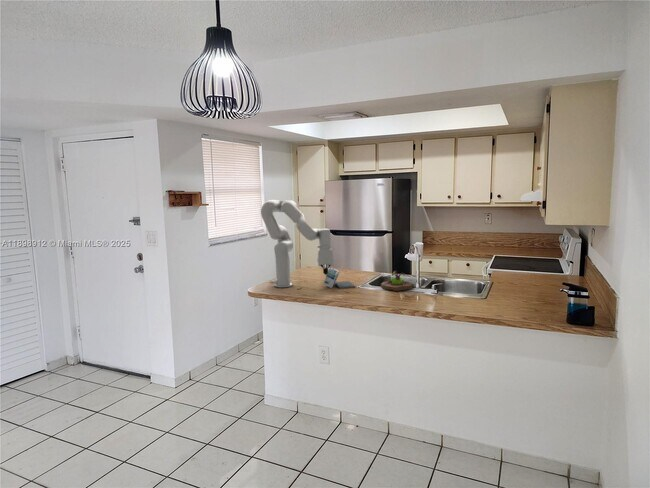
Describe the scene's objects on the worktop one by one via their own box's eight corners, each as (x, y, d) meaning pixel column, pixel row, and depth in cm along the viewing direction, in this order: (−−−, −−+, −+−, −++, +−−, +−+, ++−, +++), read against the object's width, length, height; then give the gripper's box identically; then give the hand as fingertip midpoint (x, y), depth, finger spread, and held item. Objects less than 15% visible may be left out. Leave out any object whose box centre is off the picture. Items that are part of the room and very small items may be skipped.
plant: (375, 286, 271) (375, 270, 270) (396, 282, 282) (396, 267, 281) (397, 292, 255) (397, 274, 253) (418, 287, 266) (418, 270, 265)
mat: (338, 288, 266) (338, 286, 265) (333, 283, 281) (333, 281, 281) (355, 287, 268) (355, 285, 268) (349, 282, 283) (349, 280, 283)
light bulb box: (331, 288, 267) (337, 273, 265) (322, 284, 268) (328, 269, 266) (334, 285, 277) (340, 270, 275) (325, 281, 278) (331, 266, 276)
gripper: (314, 248, 265) (315, 276, 267) (337, 247, 268) (337, 274, 270) (313, 247, 272) (313, 274, 274) (334, 246, 275) (335, 272, 277)
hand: (325, 274), depth 272 cm, fingers closed
